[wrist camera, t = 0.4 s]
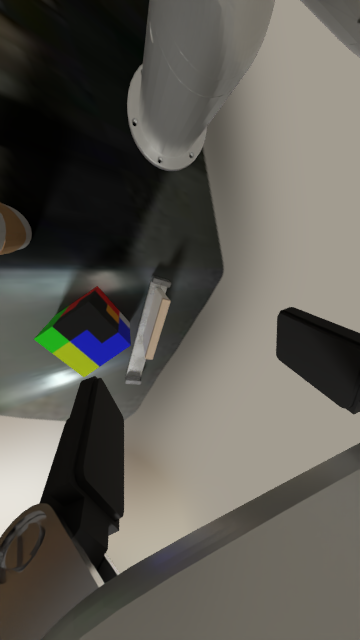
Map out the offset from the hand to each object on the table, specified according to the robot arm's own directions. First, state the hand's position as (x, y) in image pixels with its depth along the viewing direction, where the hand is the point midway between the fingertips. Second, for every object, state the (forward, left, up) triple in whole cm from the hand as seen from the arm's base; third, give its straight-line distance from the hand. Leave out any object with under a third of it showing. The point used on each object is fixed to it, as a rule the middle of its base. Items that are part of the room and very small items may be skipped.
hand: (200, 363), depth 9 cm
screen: (+9, +4, -30) cm, 31 cm away
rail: (+14, +4, -32) cm, 35 cm away
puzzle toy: (+13, -7, -32) cm, 35 cm away
